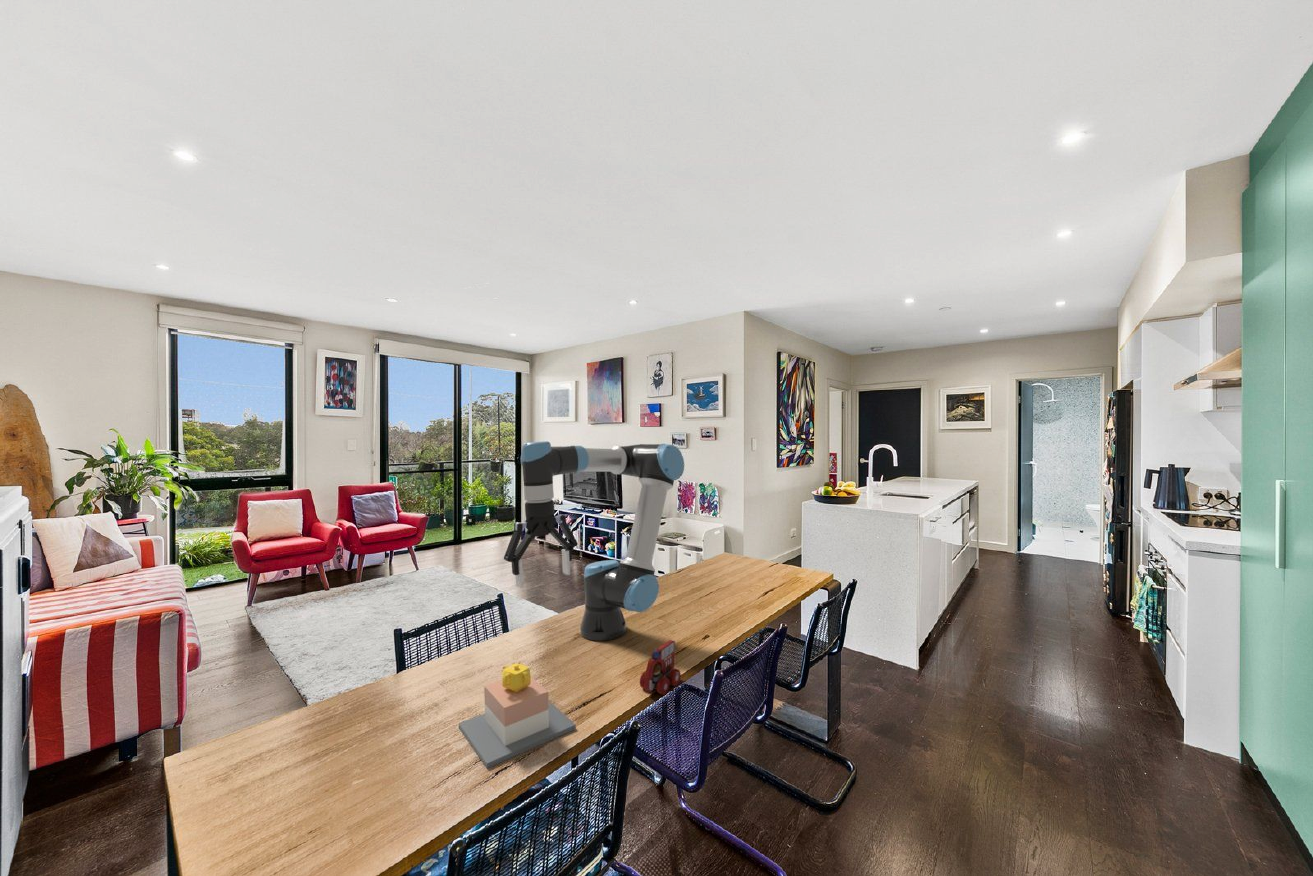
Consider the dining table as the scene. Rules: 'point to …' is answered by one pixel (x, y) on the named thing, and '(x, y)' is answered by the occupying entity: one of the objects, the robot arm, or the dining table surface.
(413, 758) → the dining table surface
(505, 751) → the tower base
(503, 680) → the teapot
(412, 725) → the dining table surface
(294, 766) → the dining table surface
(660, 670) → the toy fire truck
